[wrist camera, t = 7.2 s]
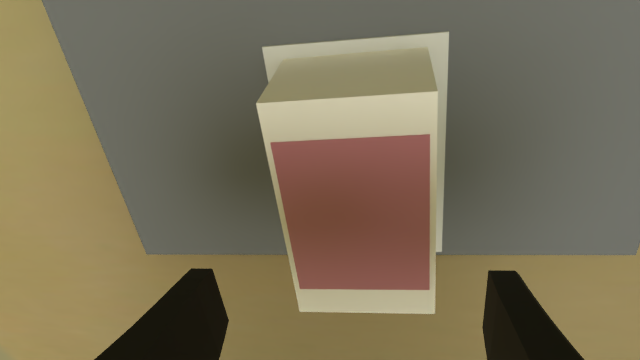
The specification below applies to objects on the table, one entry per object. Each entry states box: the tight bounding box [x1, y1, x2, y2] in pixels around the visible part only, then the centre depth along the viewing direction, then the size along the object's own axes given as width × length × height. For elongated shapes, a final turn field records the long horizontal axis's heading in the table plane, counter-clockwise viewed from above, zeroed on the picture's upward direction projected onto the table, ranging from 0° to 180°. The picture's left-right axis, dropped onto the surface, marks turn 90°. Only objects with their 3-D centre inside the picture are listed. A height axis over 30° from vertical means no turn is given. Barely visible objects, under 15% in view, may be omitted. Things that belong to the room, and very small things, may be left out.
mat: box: [42, 0, 640, 255], centre depth 16 cm, size 18×22×1 cm
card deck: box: [256, 47, 438, 314], centre depth 16 cm, size 5×8×4 cm, turn 7°
